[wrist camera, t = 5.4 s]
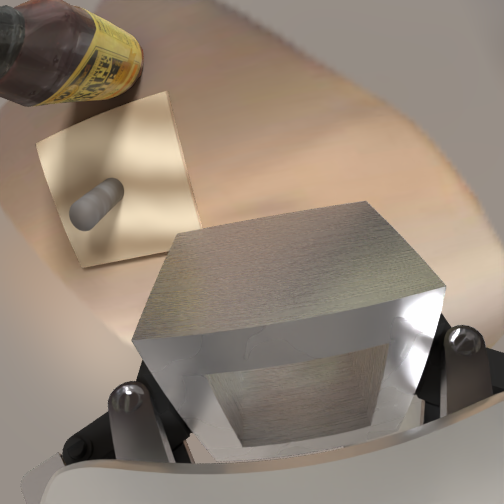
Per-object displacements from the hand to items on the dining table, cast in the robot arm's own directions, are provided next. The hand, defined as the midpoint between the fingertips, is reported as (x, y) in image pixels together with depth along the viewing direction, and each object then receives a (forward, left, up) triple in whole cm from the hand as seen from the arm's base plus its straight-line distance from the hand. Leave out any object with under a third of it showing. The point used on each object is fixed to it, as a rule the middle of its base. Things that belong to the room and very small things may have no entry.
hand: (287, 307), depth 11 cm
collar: (0, 0, -1) cm, 1 cm away
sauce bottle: (+13, +10, -17) cm, 24 cm away
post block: (+2, +13, -17) cm, 22 cm away
